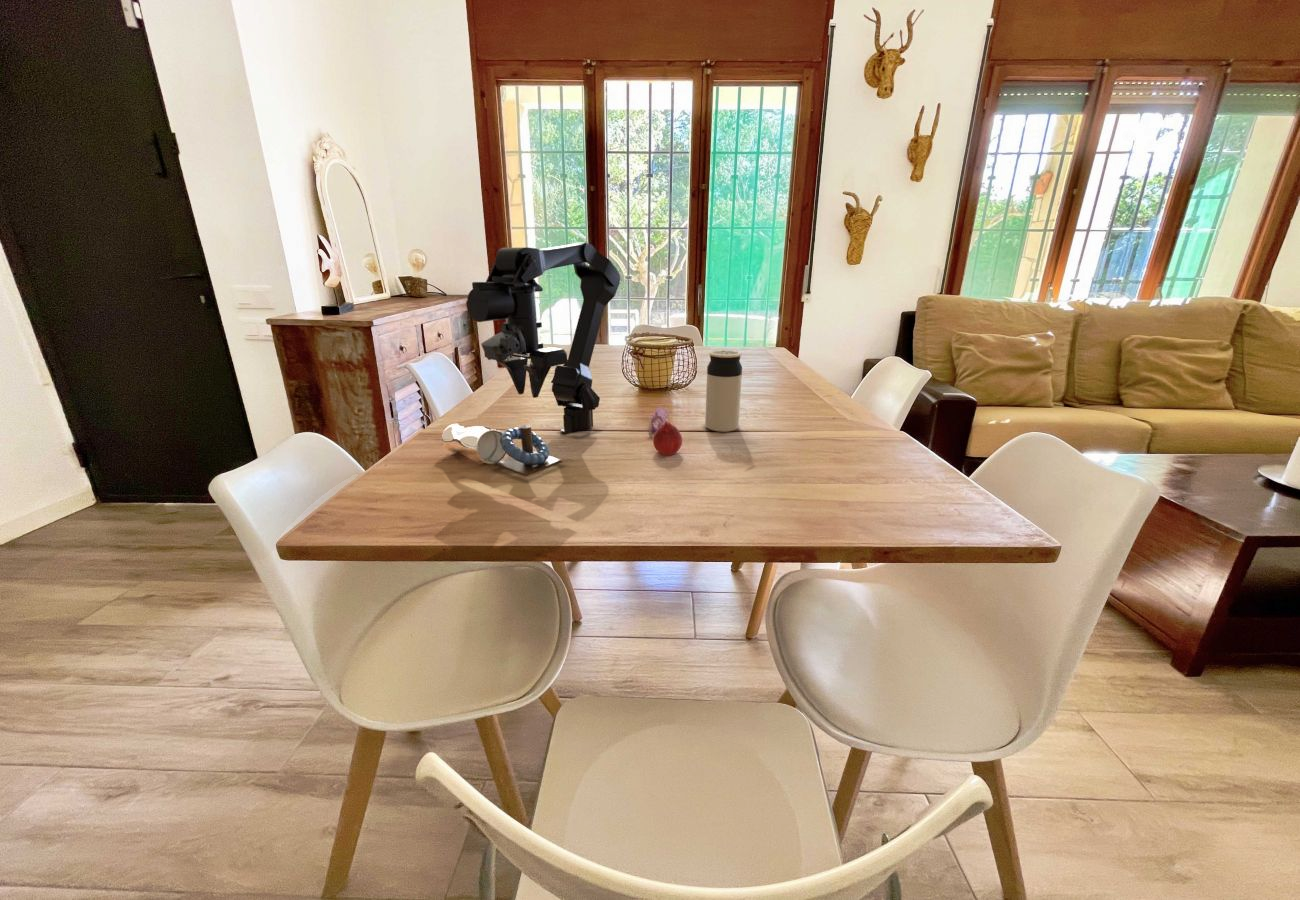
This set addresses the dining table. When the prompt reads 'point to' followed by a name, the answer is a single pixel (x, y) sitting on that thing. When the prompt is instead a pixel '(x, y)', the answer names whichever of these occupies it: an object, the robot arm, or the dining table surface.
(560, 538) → the dining table surface
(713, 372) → the travel mug
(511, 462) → the stand
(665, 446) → the onion
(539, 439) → the blue ribbed ring toss
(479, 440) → the beer glass
